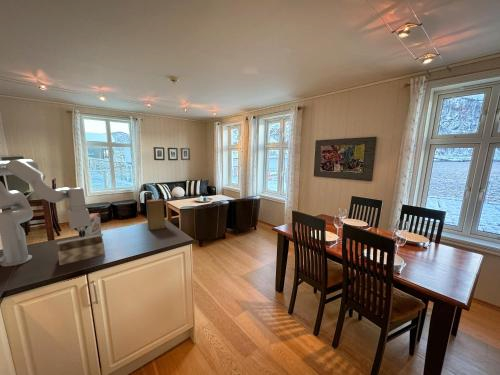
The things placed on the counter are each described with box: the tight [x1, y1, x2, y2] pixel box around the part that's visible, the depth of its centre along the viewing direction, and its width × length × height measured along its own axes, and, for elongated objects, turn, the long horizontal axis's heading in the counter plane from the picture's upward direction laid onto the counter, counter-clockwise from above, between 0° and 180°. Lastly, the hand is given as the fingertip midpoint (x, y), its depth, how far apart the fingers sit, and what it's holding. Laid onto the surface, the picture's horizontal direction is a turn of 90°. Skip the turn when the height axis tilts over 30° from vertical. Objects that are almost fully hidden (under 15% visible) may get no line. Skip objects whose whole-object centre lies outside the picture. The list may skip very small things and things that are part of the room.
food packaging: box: [146, 198, 166, 231], centre depth 188 cm, size 13×9×25 cm
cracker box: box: [80, 212, 102, 239], centre depth 154 cm, size 14×6×21 cm, turn 8°
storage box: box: [57, 236, 106, 266], centre depth 137 cm, size 22×14×8 cm, turn 129°
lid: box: [56, 233, 104, 245], centre depth 136 cm, size 22×14×1 cm, turn 129°
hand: (82, 236), depth 133 cm, fingers closed
